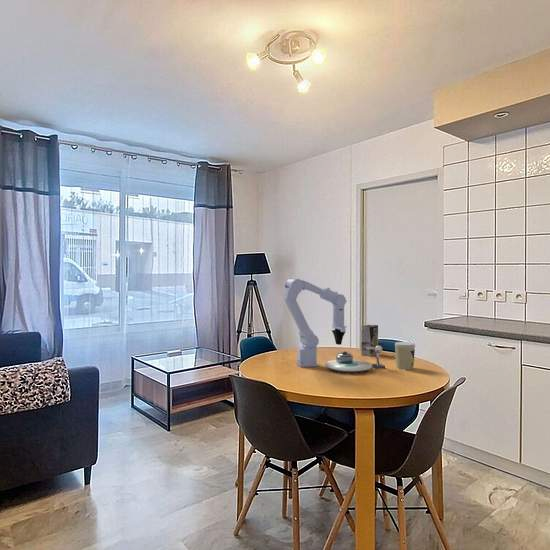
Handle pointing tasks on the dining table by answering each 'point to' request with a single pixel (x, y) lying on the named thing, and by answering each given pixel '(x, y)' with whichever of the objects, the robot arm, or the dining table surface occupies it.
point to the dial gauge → (378, 350)
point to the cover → (344, 357)
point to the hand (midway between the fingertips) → (338, 344)
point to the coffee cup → (404, 355)
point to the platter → (349, 365)
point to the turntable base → (349, 371)
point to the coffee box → (369, 339)
